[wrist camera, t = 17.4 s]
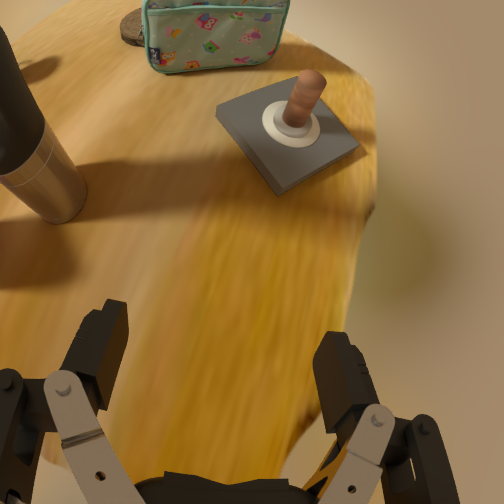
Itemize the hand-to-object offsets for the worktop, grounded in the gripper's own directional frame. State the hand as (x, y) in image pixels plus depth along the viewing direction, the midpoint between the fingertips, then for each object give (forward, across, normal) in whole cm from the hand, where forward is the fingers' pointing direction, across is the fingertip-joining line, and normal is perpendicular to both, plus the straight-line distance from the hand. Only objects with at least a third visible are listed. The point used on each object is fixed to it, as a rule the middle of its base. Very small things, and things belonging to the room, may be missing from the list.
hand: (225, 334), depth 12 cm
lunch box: (+57, +9, -14) cm, 59 cm away
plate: (+46, -9, -2) cm, 46 cm away
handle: (+43, -9, -4) cm, 44 cm away
